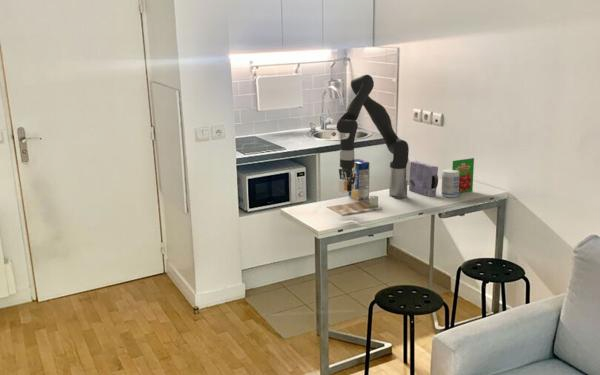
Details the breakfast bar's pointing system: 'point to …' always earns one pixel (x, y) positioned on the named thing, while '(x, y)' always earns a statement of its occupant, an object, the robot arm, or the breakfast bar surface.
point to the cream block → (345, 185)
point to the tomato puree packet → (465, 174)
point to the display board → (353, 208)
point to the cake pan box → (423, 178)
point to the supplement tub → (450, 183)
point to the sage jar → (373, 201)
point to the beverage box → (361, 180)
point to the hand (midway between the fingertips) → (347, 190)
